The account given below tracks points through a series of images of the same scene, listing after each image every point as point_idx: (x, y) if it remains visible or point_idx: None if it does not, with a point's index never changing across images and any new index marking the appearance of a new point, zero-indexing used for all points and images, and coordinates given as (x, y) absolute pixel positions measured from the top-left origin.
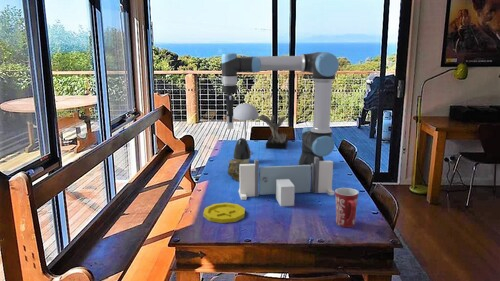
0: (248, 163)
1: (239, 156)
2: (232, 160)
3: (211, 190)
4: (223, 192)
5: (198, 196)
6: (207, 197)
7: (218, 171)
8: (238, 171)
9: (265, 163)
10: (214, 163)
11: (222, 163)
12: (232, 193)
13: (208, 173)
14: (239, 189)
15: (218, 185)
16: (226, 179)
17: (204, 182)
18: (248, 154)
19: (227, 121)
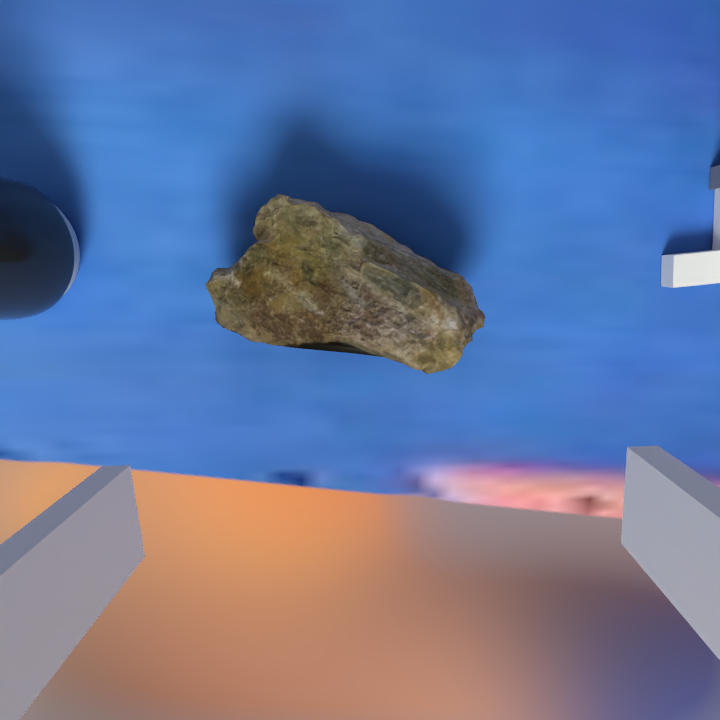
0: (296, 202)
1: (56, 272)
2: (395, 341)
3: (601, 441)
4: (646, 375)
5: None
6: (711, 458)
7: (241, 410)
8: (453, 287)
9: (27, 60)
10: (64, 439)
11: (59, 387)
12: (672, 323)
13: (284, 469)
14: (679, 282)
15: (518, 405)
16: None
17: (456, 484)
18: (17, 192)
19: (118, 573)
